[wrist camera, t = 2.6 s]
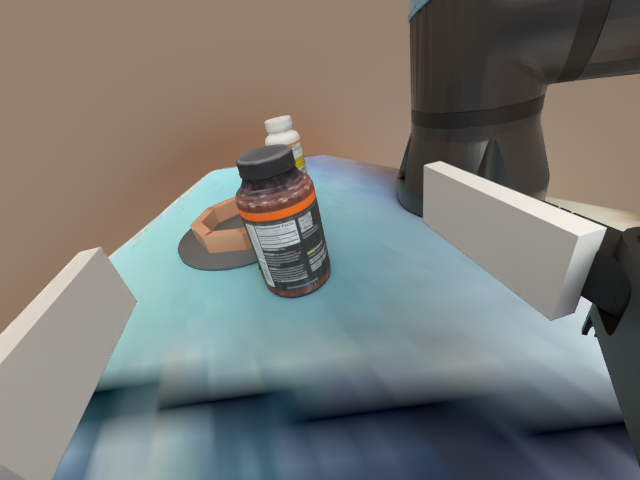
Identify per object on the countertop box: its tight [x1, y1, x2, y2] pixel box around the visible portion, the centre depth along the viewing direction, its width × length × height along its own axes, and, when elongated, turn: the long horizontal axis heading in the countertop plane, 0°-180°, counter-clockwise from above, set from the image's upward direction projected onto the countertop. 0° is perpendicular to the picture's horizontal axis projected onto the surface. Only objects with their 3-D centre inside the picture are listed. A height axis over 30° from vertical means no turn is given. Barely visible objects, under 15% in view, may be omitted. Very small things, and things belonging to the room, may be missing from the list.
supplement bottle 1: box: [265, 116, 307, 174], centre depth 46 cm, size 5×5×10 cm
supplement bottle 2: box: [235, 144, 330, 297], centre depth 23 cm, size 6×6×11 cm
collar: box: [190, 196, 252, 253], centre depth 35 cm, size 11×11×2 cm
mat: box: [178, 214, 258, 271], centre depth 36 cm, size 16×16×1 cm
